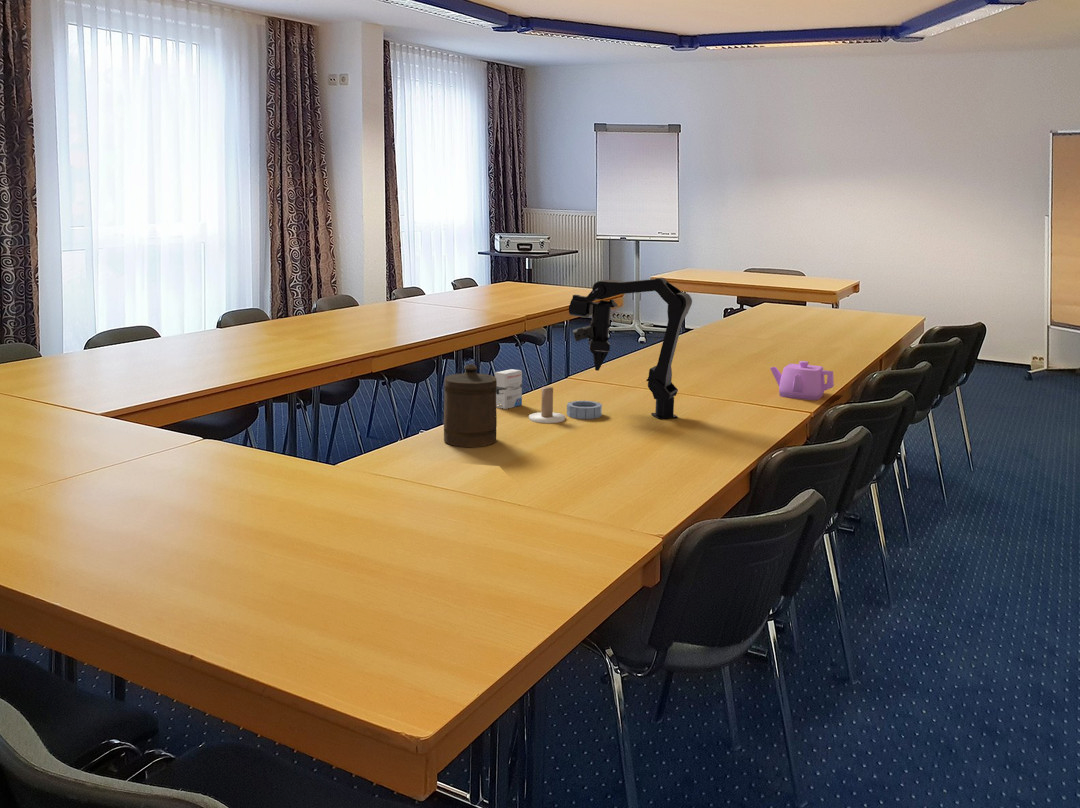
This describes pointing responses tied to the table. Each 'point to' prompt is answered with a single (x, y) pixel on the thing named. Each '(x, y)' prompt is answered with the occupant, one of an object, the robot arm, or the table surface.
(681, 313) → the robot arm
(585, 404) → the bowl
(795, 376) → the teakettle
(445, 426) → the wooden container
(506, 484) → the table surface
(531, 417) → the lid
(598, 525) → the table surface
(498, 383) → the ink box
